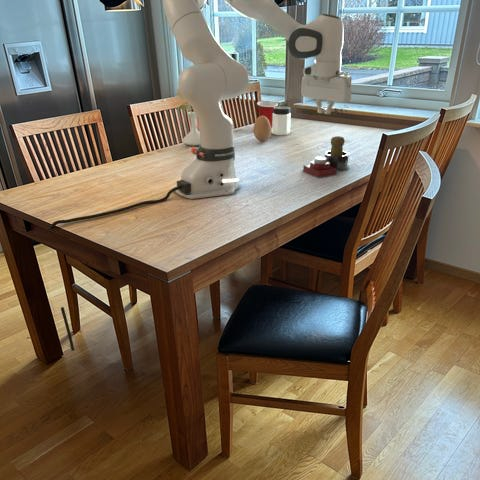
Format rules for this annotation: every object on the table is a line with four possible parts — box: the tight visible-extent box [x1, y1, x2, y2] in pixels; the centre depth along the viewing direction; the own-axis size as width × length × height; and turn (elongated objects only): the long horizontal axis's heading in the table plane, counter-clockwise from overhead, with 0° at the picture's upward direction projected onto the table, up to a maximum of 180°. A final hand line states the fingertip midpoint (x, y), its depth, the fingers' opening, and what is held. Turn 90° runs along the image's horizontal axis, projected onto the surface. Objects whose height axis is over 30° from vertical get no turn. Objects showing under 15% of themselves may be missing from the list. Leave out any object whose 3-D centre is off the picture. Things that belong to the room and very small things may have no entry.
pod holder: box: [324, 150, 350, 172], centre depth 188 cm, size 9×9×6 cm
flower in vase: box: [175, 88, 201, 147], centre depth 217 cm, size 13×11×25 cm
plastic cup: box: [256, 100, 279, 129], centre depth 251 cm, size 11×11×12 cm
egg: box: [252, 115, 272, 142], centre depth 225 cm, size 8×8×11 cm
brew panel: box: [302, 159, 337, 178], centre depth 183 cm, size 8×10×4 cm
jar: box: [271, 105, 292, 136], centre depth 238 cm, size 9×8×12 cm
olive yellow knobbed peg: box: [330, 135, 345, 156], centre depth 186 cm, size 6×6×11 cm
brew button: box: [313, 156, 326, 164], centre depth 182 cm, size 4×4×2 cm
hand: (323, 113), depth 173 cm, fingers closed
